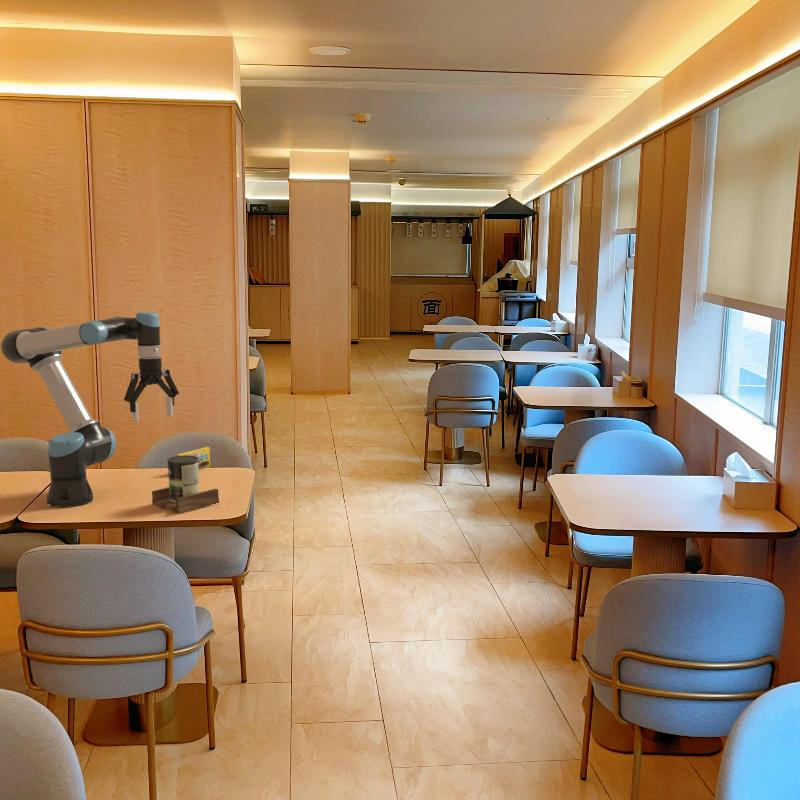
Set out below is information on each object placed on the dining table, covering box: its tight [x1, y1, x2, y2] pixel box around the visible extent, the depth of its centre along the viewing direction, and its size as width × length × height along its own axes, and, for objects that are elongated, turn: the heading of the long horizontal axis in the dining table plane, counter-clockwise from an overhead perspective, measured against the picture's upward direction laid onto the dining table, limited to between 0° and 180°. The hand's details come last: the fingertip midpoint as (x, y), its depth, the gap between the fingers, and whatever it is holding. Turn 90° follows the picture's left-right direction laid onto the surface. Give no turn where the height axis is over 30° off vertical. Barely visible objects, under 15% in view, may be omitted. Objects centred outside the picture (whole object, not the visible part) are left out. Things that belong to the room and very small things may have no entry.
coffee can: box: [167, 455, 201, 502], centre depth 308 cm, size 10×10×14 cm
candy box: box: [176, 446, 211, 470], centre depth 355 cm, size 16×2×8 cm, turn 147°
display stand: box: [151, 486, 220, 515], centre depth 309 cm, size 16×16×5 cm
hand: (153, 418), depth 312 cm, fingers open, 13 cm apart
